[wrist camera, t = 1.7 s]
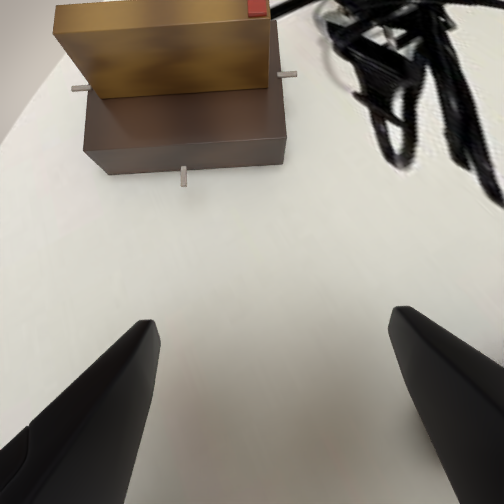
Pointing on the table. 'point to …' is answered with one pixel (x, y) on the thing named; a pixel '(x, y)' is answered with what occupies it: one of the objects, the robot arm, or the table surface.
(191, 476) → the table surface
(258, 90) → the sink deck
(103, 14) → the tan wooden plank
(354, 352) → the table surface
